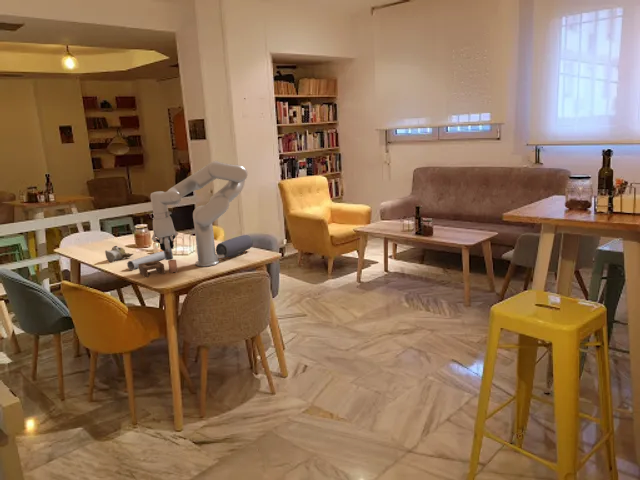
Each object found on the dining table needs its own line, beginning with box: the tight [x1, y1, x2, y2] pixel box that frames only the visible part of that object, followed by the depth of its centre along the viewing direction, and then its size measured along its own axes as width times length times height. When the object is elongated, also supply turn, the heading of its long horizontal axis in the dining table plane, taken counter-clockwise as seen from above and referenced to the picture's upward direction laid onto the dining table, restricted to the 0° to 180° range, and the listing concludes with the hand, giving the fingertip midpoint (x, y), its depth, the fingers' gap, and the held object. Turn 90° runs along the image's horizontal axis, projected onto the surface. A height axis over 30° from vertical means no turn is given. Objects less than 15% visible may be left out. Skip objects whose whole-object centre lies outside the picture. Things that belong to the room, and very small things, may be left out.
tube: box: [126, 250, 165, 271], centre depth 281 cm, size 5×5×25 cm
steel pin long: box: [162, 236, 174, 261], centre depth 267 cm, size 4×4×12 cm
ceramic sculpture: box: [104, 245, 134, 263], centre depth 294 cm, size 11×9×15 cm
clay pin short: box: [167, 259, 178, 274], centre depth 263 cm, size 4×4×6 cm
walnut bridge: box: [138, 260, 166, 278], centre depth 262 cm, size 10×10×5 cm
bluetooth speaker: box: [215, 234, 254, 259], centre depth 289 cm, size 23×9×10 cm, turn 149°
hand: (167, 249), depth 267 cm, fingers closed on steel pin long, 4 cm apart
